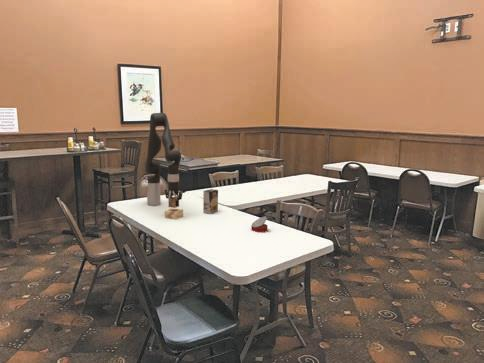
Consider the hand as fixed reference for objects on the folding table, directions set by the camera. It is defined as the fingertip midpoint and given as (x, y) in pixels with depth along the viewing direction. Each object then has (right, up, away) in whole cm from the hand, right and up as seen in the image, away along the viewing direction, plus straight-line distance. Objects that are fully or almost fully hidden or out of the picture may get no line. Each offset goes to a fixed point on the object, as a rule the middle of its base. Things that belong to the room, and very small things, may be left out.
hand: (173, 205), depth 275 cm
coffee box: (+24, -6, +16) cm, 29 cm away
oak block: (0, -9, +2) cm, 9 cm away
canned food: (+57, -14, -25) cm, 64 cm away
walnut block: (0, -1, 0) cm, 1 cm away
